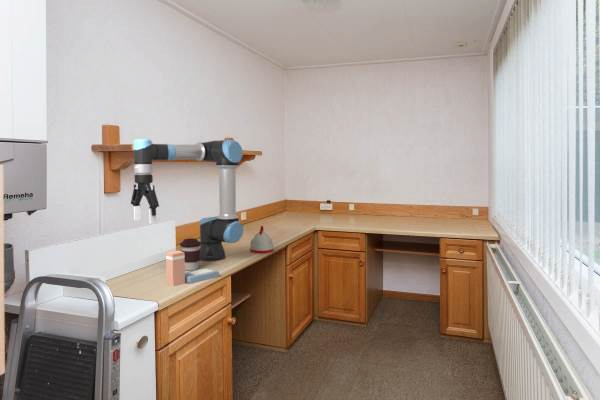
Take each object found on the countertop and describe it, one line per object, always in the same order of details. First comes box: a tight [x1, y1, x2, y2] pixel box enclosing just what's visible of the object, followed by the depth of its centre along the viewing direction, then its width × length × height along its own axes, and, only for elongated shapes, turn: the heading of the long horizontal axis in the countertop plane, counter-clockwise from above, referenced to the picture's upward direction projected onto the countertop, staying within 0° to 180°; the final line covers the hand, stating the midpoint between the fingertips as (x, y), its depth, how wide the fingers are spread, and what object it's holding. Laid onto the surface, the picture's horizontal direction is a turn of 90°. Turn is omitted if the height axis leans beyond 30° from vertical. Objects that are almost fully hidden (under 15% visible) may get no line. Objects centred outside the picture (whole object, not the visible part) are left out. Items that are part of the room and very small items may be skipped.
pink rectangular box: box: [165, 250, 186, 287], centre depth 196 cm, size 6×5×14 cm
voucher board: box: [184, 267, 220, 285], centre depth 206 cm, size 17×10×3 cm, turn 139°
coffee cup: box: [179, 238, 201, 272], centre depth 222 cm, size 10×10×15 cm
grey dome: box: [249, 225, 274, 254], centre depth 266 cm, size 14×14×15 cm
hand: (145, 221), depth 199 cm, fingers open, 13 cm apart
